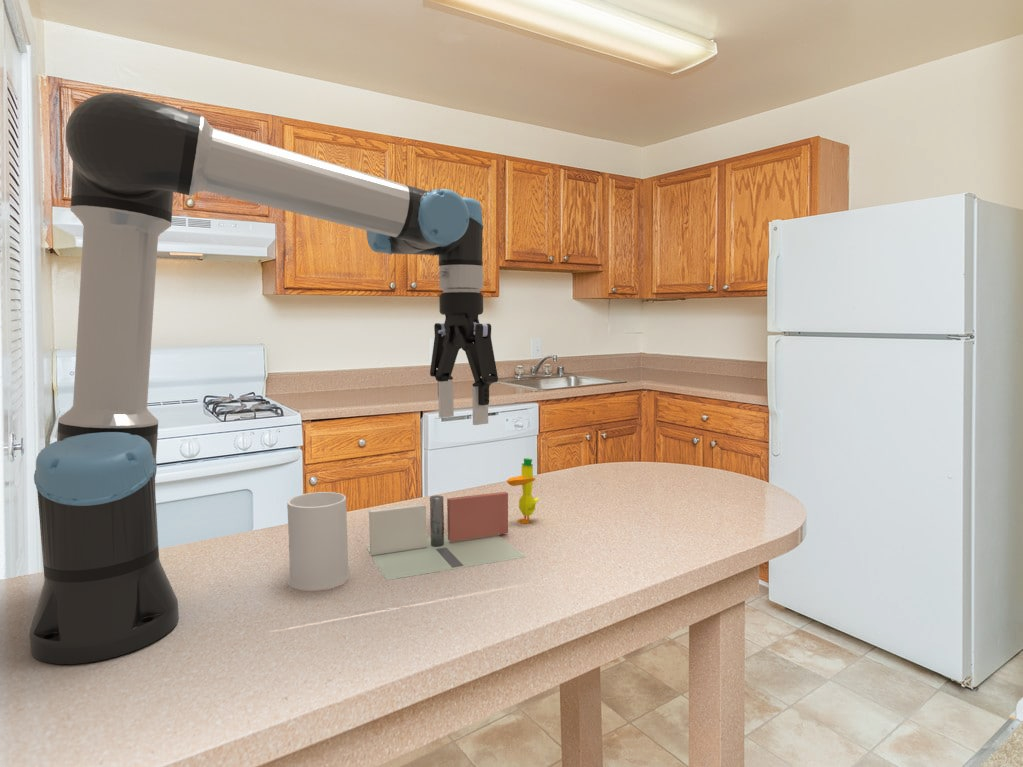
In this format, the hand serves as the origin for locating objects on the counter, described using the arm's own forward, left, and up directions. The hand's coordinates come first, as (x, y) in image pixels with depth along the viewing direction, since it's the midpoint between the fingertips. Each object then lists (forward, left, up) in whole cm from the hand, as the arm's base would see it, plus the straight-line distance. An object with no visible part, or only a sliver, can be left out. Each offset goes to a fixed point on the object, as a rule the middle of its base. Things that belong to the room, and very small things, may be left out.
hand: (462, 420), depth 113 cm
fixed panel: (-13, -6, -19) cm, 24 cm away
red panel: (0, -6, -19) cm, 20 cm away
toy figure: (+11, -1, -20) cm, 23 cm away
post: (-7, -6, -19) cm, 21 cm away
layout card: (-7, -10, -20) cm, 23 cm away
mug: (-27, -11, -20) cm, 35 cm away
